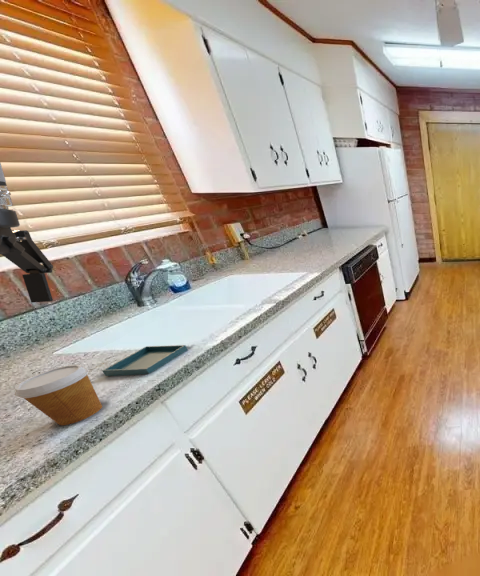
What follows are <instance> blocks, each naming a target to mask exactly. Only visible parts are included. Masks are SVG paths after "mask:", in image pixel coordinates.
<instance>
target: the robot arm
mask: <svg viewBox="0 0 480 576" xmlns="http://www.w3.org/2000/svg"><path fill="white" fill-rule="evenodd" d="M8 188H9V187H8V185H7V180H6V177H5V174H4V171H3V167H2V163H1V162H0V255H2V257H4V258H6V259H7V260H8V261H10V262H11V263H12V264H14V265H15V266H16V267H18V268H19V269H20V270H22V271H23V272H24V274H21V275H22V278H23V279H22V280H23V282H24V284H25V285H24V286H25V288H26V290H27V294H28V297H29V300H30V303H49V302H53V301H54V300H53V299H54V298H53V295H52V292H51V290H50V287H49V283H48V280H47V276H46V274H52V273H53V268H54V265H53V263H52V262H51V261H50V260H49V259H48V258H47V256H46V255H45V254H44V253H43V252H42V250H41V248H39V246H38V245H37V244H36V242H35V241H33V238H32V236H31V234H30V232H29V230H25V229H24V230H23V229H13V228H18V227H20V226H21V224H20V221H19V217H18V214H17V211H16V210H14V209H12V208H9V207H12V206H14V203H13V201H12V197H11V196H12V193H11V192H10V191H9V189H8Z"/></svg>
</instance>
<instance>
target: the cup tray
mask: <svg viewBox="0 0 480 576" xmlns="http://www.w3.org/2000/svg"><path fill="white" fill-rule="evenodd" d="M187 351H189V349H188V347H187V346H186V344H178V345H175V344H174V345H147V346H144V347H142V348H141V349H138V350H137V351H135V352H133V353H131V354H129V355H127V356H126V357H124V358H122V359H121V360H119V361H117V362H114V363H113V364H111V365H109V366H108V367H106V368H104V369H102V370H101V371H102V374H103V375H104V376H105V377H114V376H115V377H120V376H135V375H137V376H138V375H149V374H151V373H153V372H154V371H156V370H157V369H160V368H161V367H163V366H164V365H166V364H168V363H169V362H171V361H172V360H174V359H176V358H177V357H179V356H181V355H182V354H184V353H185V352H187Z"/></svg>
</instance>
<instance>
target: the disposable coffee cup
mask: <svg viewBox="0 0 480 576" xmlns="http://www.w3.org/2000/svg"><path fill="white" fill-rule="evenodd" d="M14 391H15V392H14V396H15V397H19V398H21V399H24V400H25V401H26V402H28V403H29V404H31V405H32V406H33V407H35V408H36V409H37V410H39V411H40V412H41V413H42V414H44V415H46V417H48V418H50V419H51V420H52V421H53V422H55V423H56V424H58V425H59V426H68V425H72V424H75V423H78V422H81V421H83V420H86V419H88V418H90V417H92V416H93V415H96V414H97V413H98V412H99V411H100V410H101V409H102V408H103V405H102V402H101V401H100V399H99V397H98V394H97V393H96V390H95V388H94V385H93V384H92V382H91V379H90V377H89V376H88V368H87V367H84V366H82V365H80V364H68V365H63V366H59V367H55V368H52V369H49V370H46V371H43V372H40V373H38V374H35V375H33V376H31V377H28V378H26V379H25V380H22V381H21V382H19V383H18V384H17V385H15V386H14Z"/></svg>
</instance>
